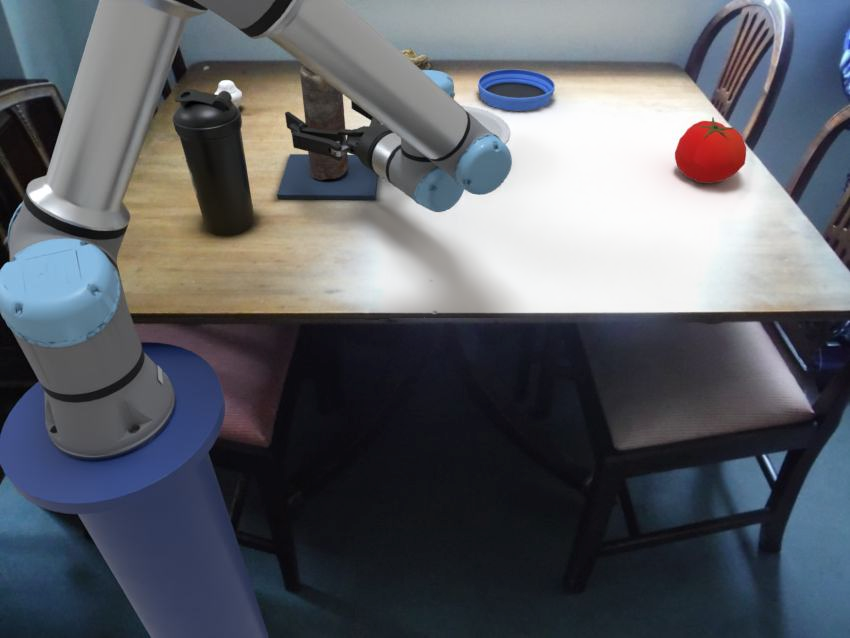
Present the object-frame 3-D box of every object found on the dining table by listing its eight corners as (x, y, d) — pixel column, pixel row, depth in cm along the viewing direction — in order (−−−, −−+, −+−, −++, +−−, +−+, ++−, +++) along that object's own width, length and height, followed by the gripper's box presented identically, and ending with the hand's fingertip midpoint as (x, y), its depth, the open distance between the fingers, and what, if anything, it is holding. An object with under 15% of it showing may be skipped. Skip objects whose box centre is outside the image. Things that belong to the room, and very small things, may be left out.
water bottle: (209, 206, 119) (179, 80, 104) (265, 208, 119) (243, 82, 104) (192, 238, 112) (157, 107, 97) (252, 240, 112) (226, 109, 96)
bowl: (530, 79, 167) (531, 64, 165) (566, 106, 155) (569, 91, 152) (465, 88, 162) (466, 74, 160) (497, 117, 150) (499, 102, 147)
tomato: (662, 159, 135) (675, 110, 128) (722, 160, 135) (739, 110, 128) (681, 193, 125) (696, 141, 118) (746, 193, 125) (765, 142, 118)
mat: (277, 199, 122) (276, 194, 121) (290, 158, 134) (289, 154, 133) (375, 200, 122) (375, 195, 121) (379, 159, 134) (379, 154, 133)
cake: (412, 81, 167) (410, 59, 163) (384, 71, 172) (382, 50, 168) (438, 67, 172) (437, 46, 168) (411, 58, 177) (409, 38, 173)
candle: (320, 161, 131) (310, 58, 118) (355, 166, 129) (348, 63, 116) (304, 179, 125) (291, 73, 112) (339, 185, 124) (330, 79, 111)
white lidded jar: (216, 106, 152) (210, 76, 148) (243, 103, 154) (238, 73, 149) (218, 117, 148) (211, 86, 143) (245, 114, 149) (240, 84, 145)
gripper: (324, 198, 103) (261, 148, 116) (447, 154, 115) (378, 112, 128) (320, 154, 98) (255, 106, 111) (449, 112, 110) (377, 74, 123)
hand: (321, 110), depth 119 cm, fingers open, 13 cm apart
